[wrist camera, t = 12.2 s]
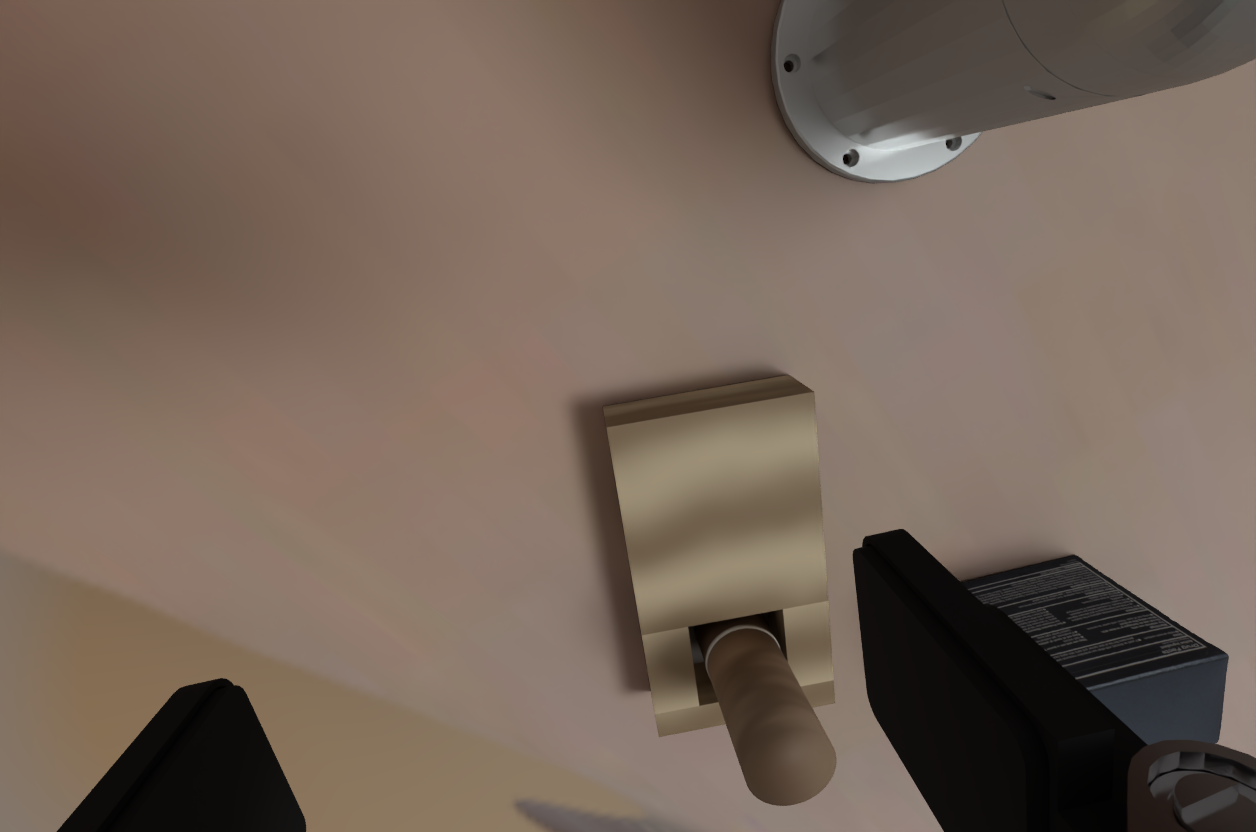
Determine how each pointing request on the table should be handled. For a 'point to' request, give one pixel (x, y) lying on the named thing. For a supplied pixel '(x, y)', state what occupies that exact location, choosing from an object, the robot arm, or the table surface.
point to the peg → (766, 711)
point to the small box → (1116, 647)
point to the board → (723, 533)
